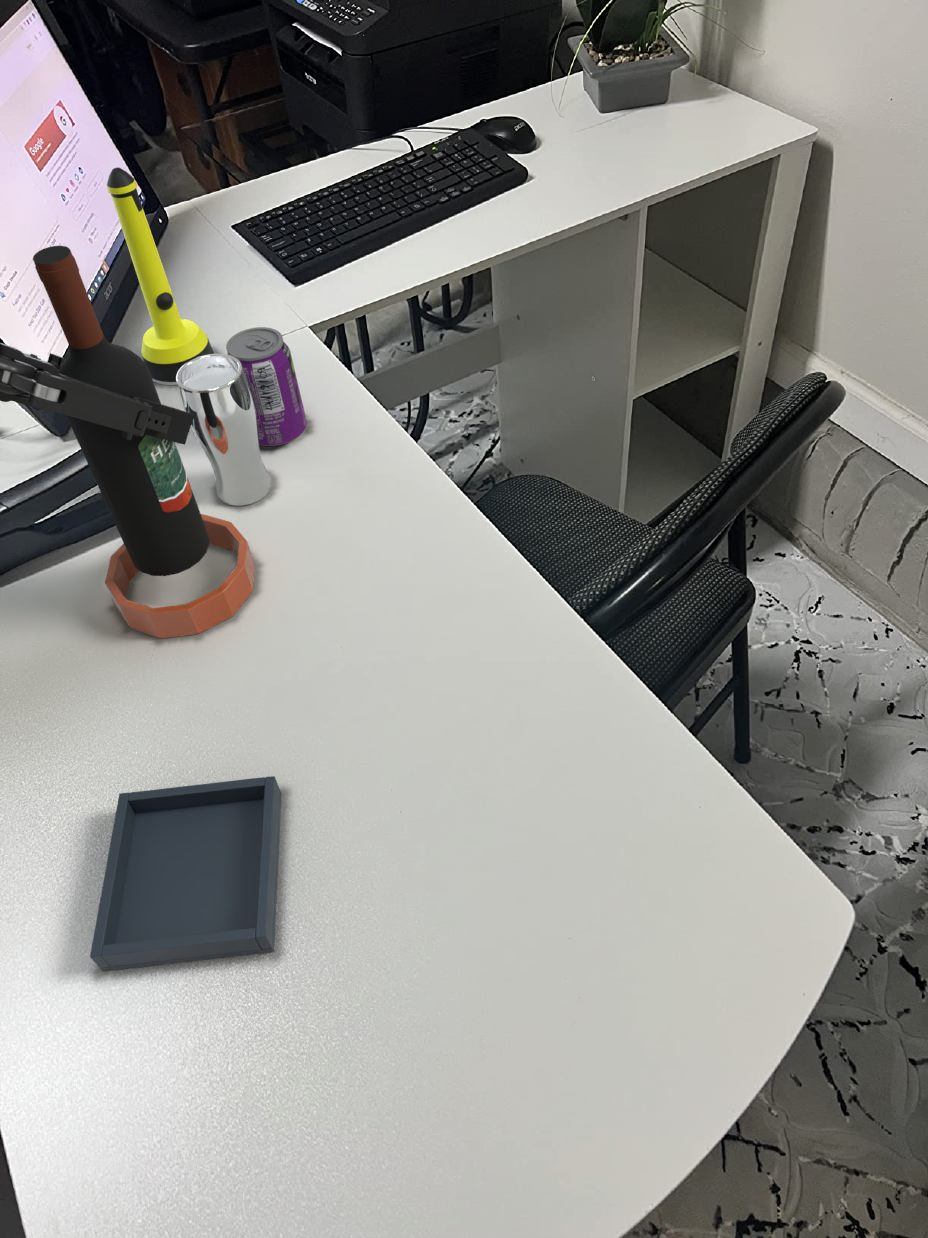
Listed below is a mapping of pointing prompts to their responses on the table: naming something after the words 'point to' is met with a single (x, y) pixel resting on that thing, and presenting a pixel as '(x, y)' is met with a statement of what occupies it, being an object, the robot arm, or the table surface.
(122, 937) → the tray
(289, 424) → the beverage can
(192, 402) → the beer glass
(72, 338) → the wine bottle
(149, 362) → the flashlight
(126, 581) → the faceted bangle
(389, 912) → the table surface
